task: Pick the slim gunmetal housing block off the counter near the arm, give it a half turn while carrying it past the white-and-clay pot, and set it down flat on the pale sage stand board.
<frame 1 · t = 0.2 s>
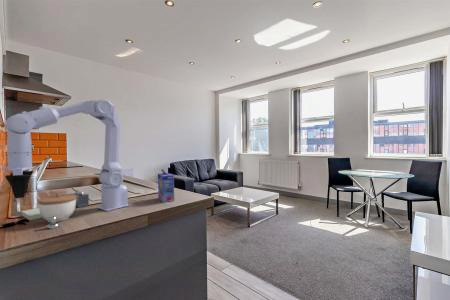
hand: (21, 195, 70), 10 cm above the worktop, fingers open, 7 cm apart
housing: (79, 205, 95), on the worktop
blue juice carton: (165, 199, 105), on the worktop
lidded jar: (58, 219, 77), on the worktop
bolt: (53, 227, 70), on the worktop
stand: (37, 215, 82), on the worktop
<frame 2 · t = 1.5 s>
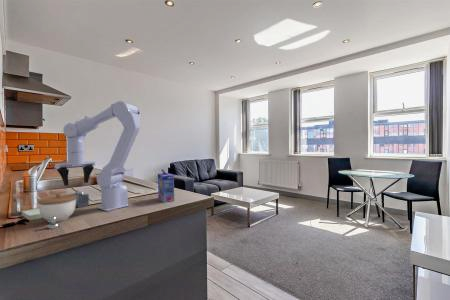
hand: (76, 184, 94), 9 cm above the worktop, fingers open, 7 cm apart
nothing on the worktop moved.
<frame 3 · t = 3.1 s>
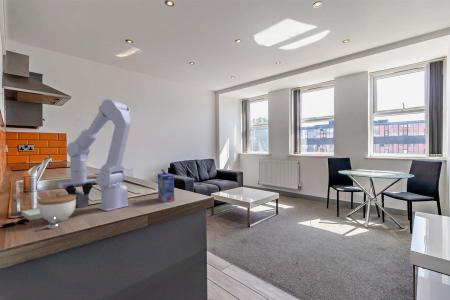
hand: (79, 202, 95), 1 cm above the worktop, fingers closed on housing, 4 cm apart
housing: (79, 205, 95), on the worktop, touching gripper
everything else where it was.
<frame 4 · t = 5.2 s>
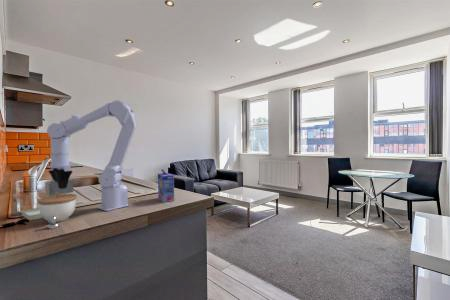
hand: (60, 187, 88), 9 cm above the worktop, fingers closed on housing, 4 cm apart
housing: (59, 193, 88), point 7 cm above the worktop, touching gripper
everything else where it was.
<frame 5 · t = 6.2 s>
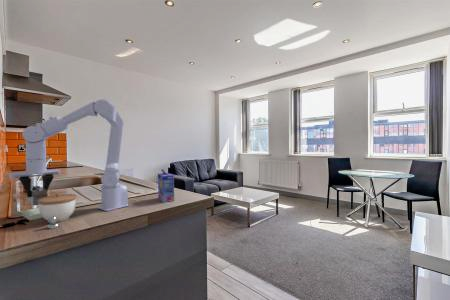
hand: (37, 195, 82), 7 cm above the worktop, fingers closed on housing, 4 cm apart
housing: (37, 202, 82), point 5 cm above the worktop, touching gripper
everything else where it was.
when the fingers open (4 cm above the worktop, at t = 7.1 s): housing stays where it is, resting on stand.
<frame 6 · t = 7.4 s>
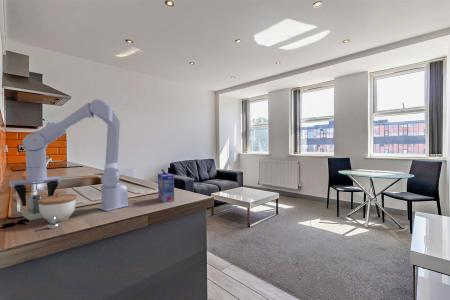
hand: (37, 203, 82), 4 cm above the worktop, fingers open, 7 cm apart
housing: (37, 211, 82), point 1 cm above the worktop, touching stand
everything else where it was.
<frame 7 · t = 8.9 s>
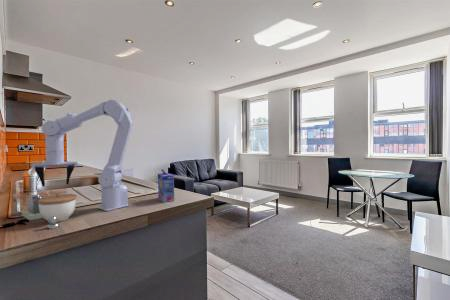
hand: (55, 185, 89), 10 cm above the worktop, fingers open, 7 cm apart
nothing on the worktop moved.
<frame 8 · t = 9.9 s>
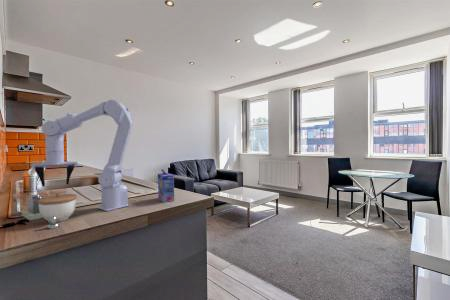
hand: (55, 185, 89), 10 cm above the worktop, fingers open, 7 cm apart
nothing on the worktop moved.
at the end: housing inside the target area on the stand (0.1 cm from its centre), point 1.5 cm above the stand's base; housing tilted 0°; the gripper is holding nothing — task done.
